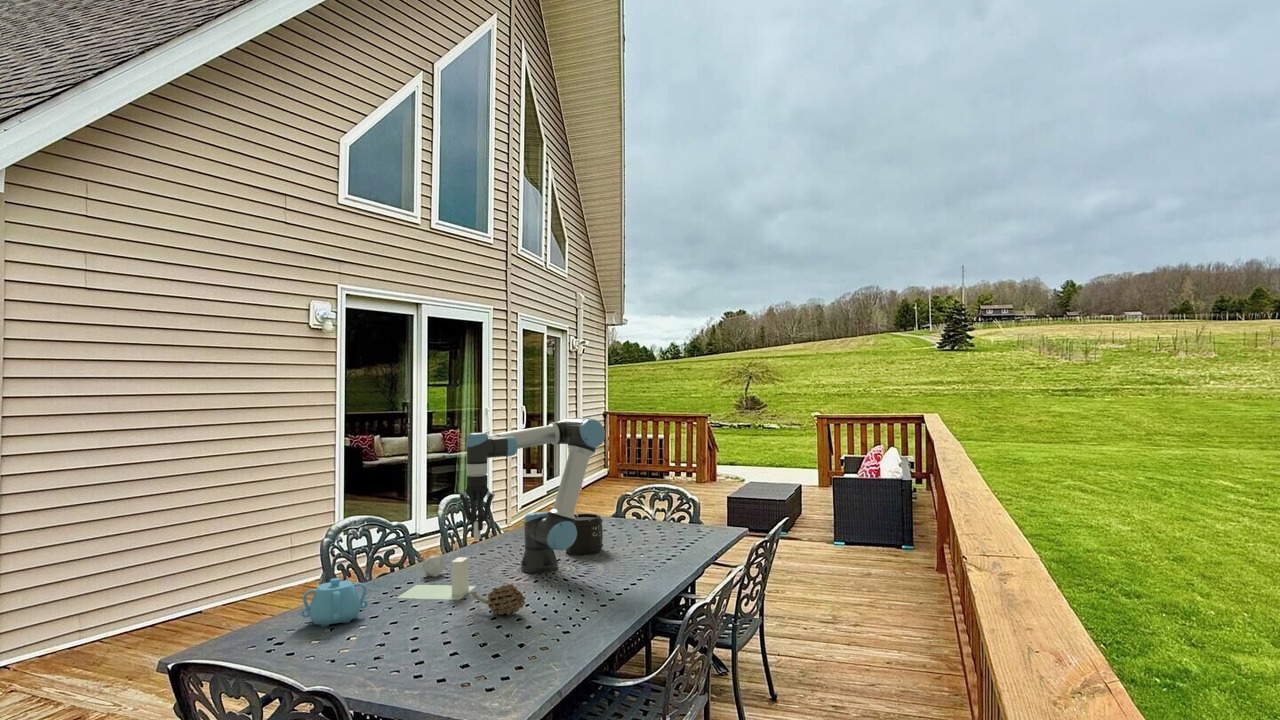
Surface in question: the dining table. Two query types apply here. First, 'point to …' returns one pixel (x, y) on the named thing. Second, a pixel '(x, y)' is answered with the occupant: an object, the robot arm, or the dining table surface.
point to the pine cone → (503, 599)
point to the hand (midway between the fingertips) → (477, 539)
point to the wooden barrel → (587, 535)
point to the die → (434, 565)
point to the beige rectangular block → (460, 576)
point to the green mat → (432, 592)
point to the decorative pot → (334, 602)
